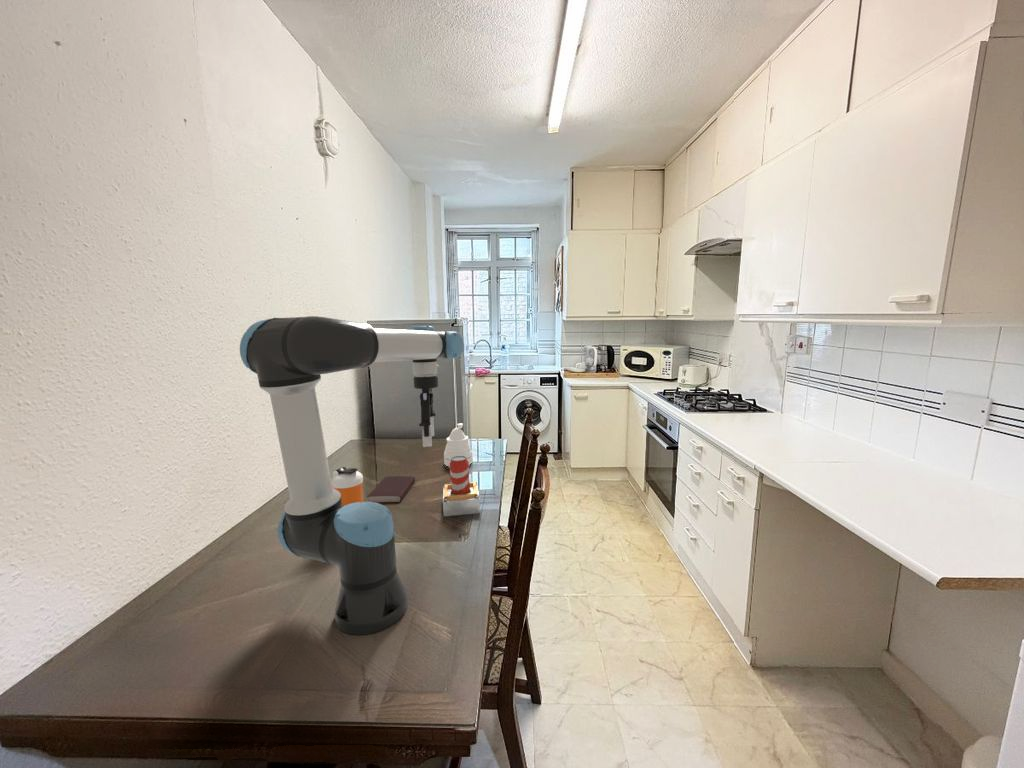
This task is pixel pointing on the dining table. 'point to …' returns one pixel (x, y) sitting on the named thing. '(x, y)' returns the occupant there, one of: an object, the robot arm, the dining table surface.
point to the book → (391, 489)
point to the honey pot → (457, 446)
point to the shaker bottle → (348, 485)
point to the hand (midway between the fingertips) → (428, 441)
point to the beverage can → (459, 475)
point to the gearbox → (461, 501)
